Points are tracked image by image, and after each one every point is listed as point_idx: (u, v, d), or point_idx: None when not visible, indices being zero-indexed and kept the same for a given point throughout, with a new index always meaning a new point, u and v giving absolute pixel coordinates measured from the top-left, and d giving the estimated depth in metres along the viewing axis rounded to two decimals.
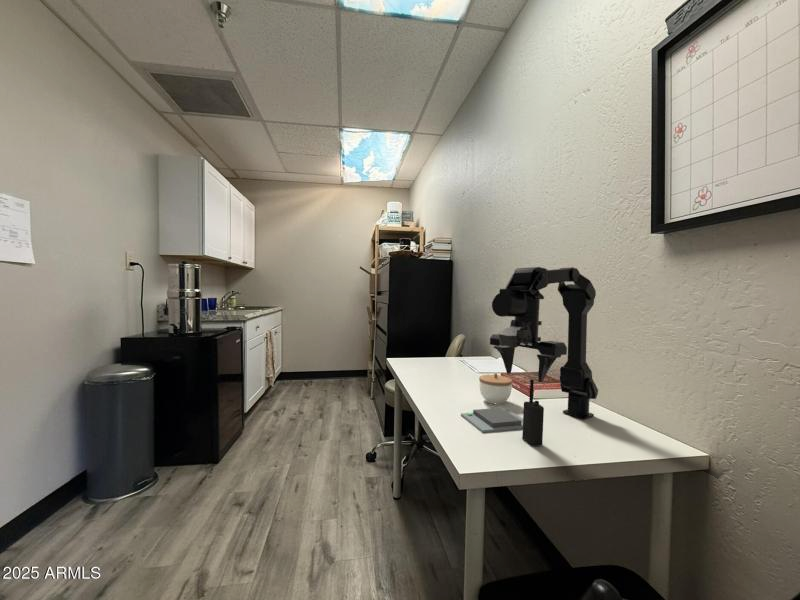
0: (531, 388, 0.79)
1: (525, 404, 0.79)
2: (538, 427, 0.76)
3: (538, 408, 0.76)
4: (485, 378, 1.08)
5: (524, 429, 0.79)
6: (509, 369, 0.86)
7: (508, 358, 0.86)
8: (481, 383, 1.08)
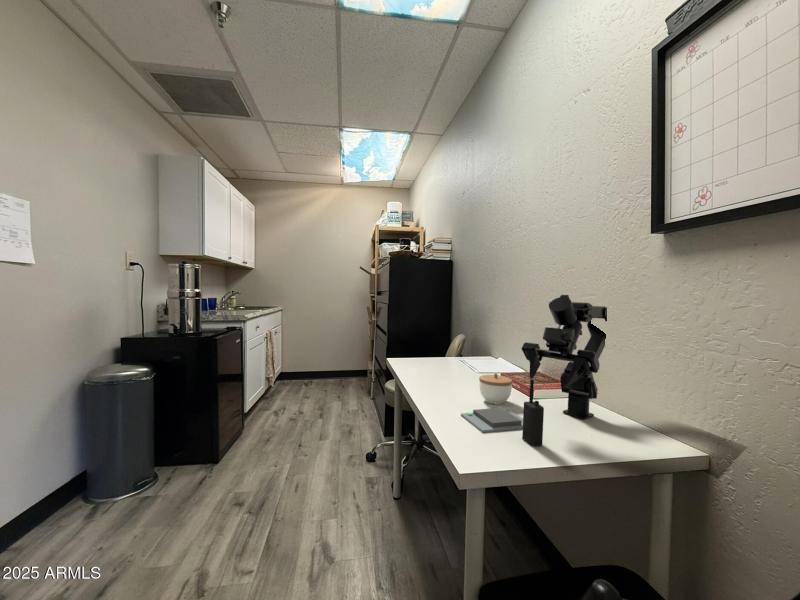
0: (531, 388, 0.79)
1: (525, 404, 0.79)
2: (538, 427, 0.76)
3: (538, 408, 0.76)
4: (485, 378, 1.08)
5: (524, 429, 0.79)
6: (532, 374, 0.88)
7: (535, 365, 0.89)
8: (481, 383, 1.08)
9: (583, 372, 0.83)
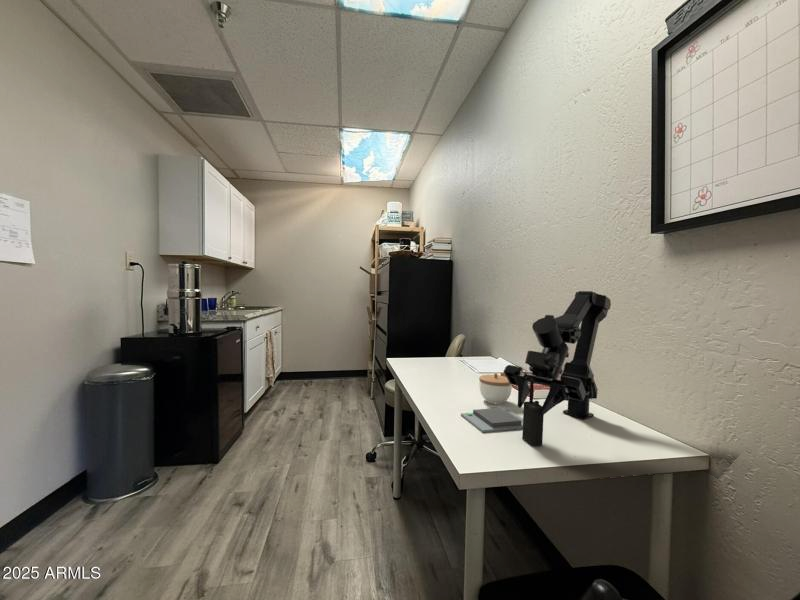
0: (531, 388, 0.79)
1: (525, 404, 0.79)
2: (538, 427, 0.76)
3: (538, 408, 0.76)
4: (485, 378, 1.08)
5: (524, 429, 0.79)
6: (521, 403, 0.80)
7: (524, 392, 0.82)
8: (481, 383, 1.08)
9: (560, 398, 0.78)
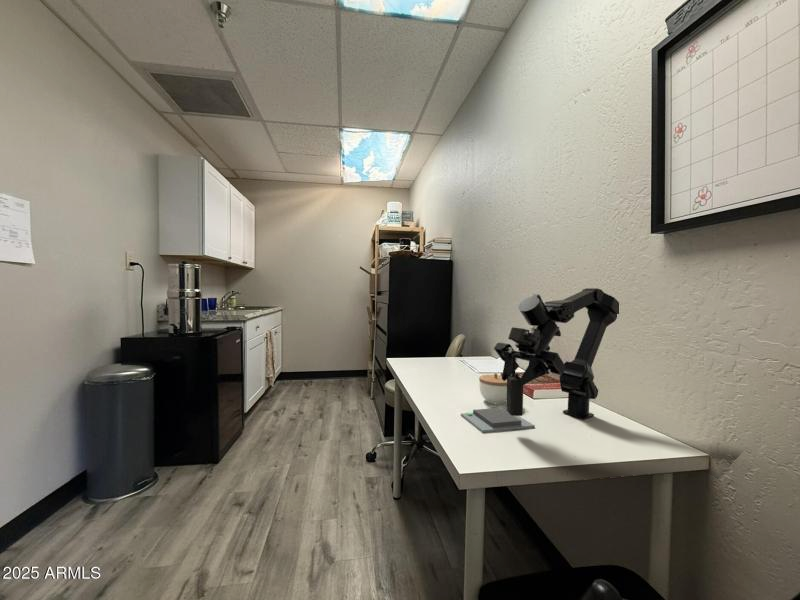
0: (513, 362, 0.85)
1: (507, 377, 0.85)
2: (517, 398, 0.81)
3: (517, 380, 0.82)
4: (485, 378, 1.08)
5: (507, 400, 0.85)
6: (505, 376, 0.86)
7: (509, 367, 0.87)
8: (481, 383, 1.08)
9: (541, 372, 0.82)
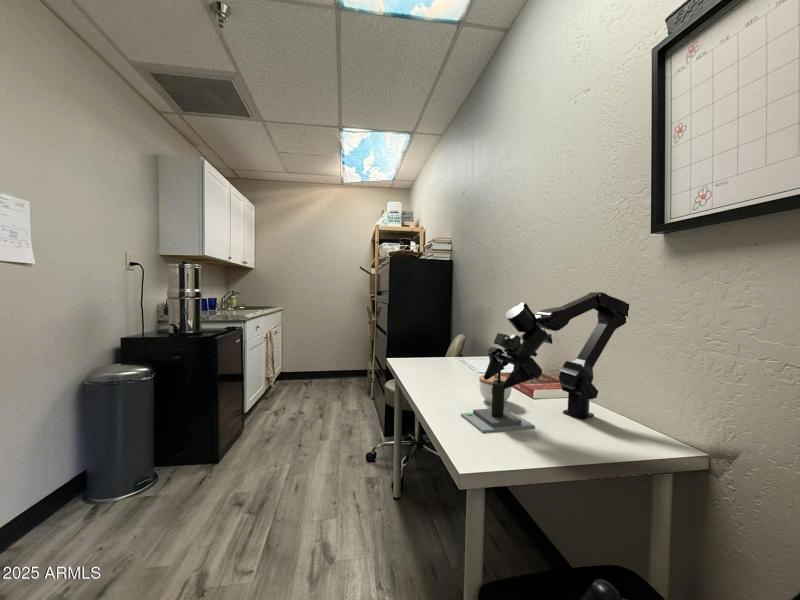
0: (498, 368, 0.92)
1: (493, 382, 0.92)
2: (498, 401, 0.89)
3: (498, 385, 0.89)
4: None
5: None
6: (487, 376, 0.95)
7: (492, 368, 0.96)
8: (481, 383, 1.08)
9: (525, 377, 0.86)
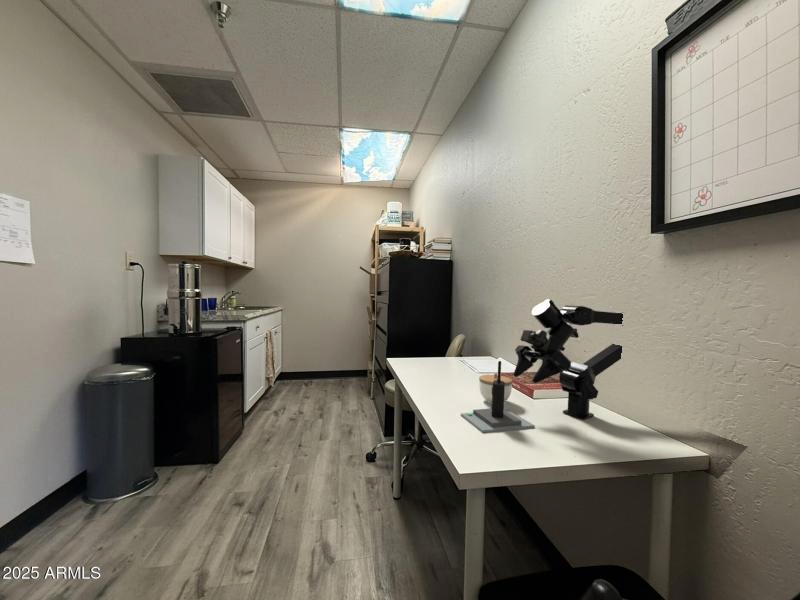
0: (498, 368, 0.92)
1: (493, 382, 0.92)
2: (498, 401, 0.89)
3: (498, 384, 0.89)
4: (485, 378, 1.08)
5: None
6: (517, 373, 0.98)
7: (521, 365, 0.98)
8: (481, 383, 1.08)
9: (555, 371, 0.88)
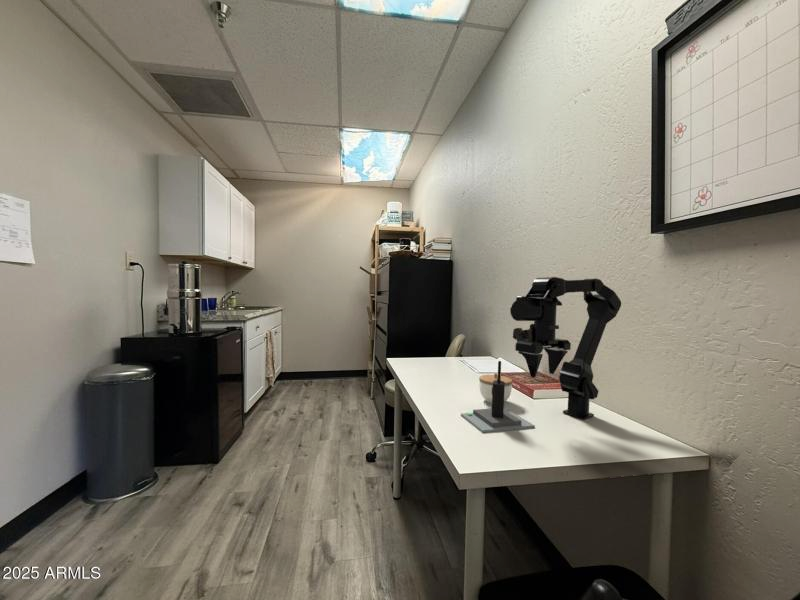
0: (498, 368, 0.92)
1: (493, 382, 0.92)
2: (498, 401, 0.89)
3: (498, 384, 0.89)
4: (485, 378, 1.08)
5: None
6: (551, 369, 0.95)
7: (551, 359, 0.96)
8: (481, 383, 1.08)
9: (535, 357, 0.87)
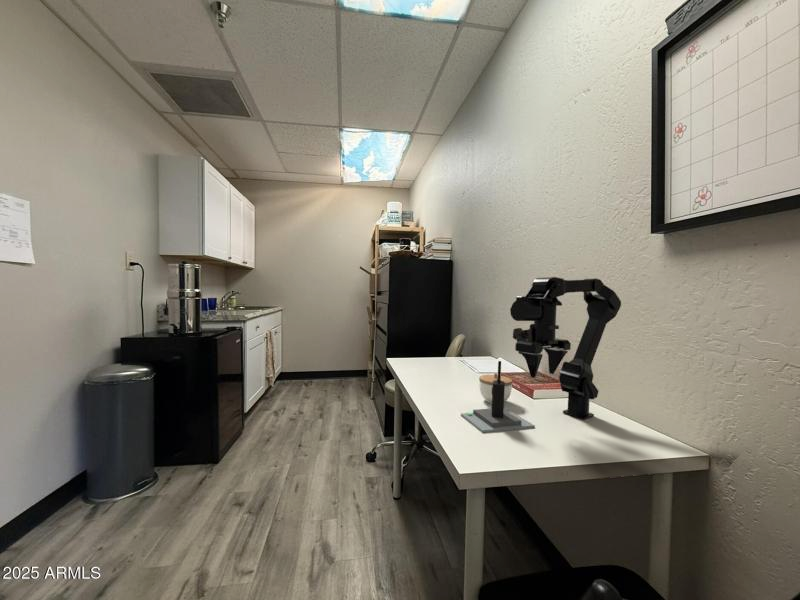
0: (498, 368, 0.92)
1: (493, 382, 0.92)
2: (498, 401, 0.89)
3: (498, 384, 0.89)
4: (485, 378, 1.08)
5: None
6: (551, 370, 0.95)
7: (551, 360, 0.96)
8: (481, 383, 1.08)
9: (535, 357, 0.87)
